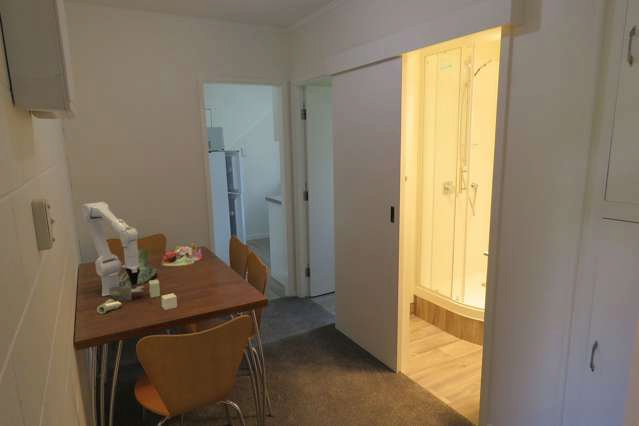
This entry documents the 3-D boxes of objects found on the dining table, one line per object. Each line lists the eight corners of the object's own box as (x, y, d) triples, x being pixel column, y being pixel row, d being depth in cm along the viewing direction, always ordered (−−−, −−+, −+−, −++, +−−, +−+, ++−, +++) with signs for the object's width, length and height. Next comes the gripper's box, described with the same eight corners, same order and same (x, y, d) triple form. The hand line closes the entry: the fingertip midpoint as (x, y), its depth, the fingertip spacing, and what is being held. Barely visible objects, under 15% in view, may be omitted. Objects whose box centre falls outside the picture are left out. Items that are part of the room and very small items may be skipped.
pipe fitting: (122, 307, 171) (107, 306, 171) (122, 299, 170) (107, 298, 170) (113, 315, 163) (97, 314, 163) (113, 306, 163) (97, 305, 162)
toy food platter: (163, 257, 252) (162, 243, 250) (201, 254, 259) (201, 240, 257) (160, 268, 228) (159, 252, 227) (202, 264, 235) (201, 249, 234)
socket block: (149, 293, 186) (148, 280, 185) (158, 292, 188) (157, 279, 187) (150, 297, 181) (149, 284, 180) (160, 295, 183) (159, 283, 182)
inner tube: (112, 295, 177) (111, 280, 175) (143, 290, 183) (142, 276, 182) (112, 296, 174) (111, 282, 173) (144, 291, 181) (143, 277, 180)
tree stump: (105, 284, 202) (109, 247, 203) (140, 282, 220) (143, 248, 222) (129, 287, 193) (133, 249, 194) (163, 285, 211) (167, 250, 213)
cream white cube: (162, 306, 170) (161, 295, 169) (173, 303, 173) (172, 293, 172) (165, 310, 166) (164, 299, 165) (177, 307, 169) (176, 296, 168)
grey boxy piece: (110, 300, 178) (109, 287, 177) (131, 297, 182) (130, 284, 181) (110, 304, 173) (109, 291, 172) (131, 300, 177) (130, 287, 176)
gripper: (119, 253, 181) (122, 281, 183) (123, 260, 169) (126, 290, 171) (136, 250, 185) (138, 278, 187) (141, 257, 173) (143, 286, 175)
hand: (133, 283), depth 179 cm, fingers closed on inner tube, 2 cm apart
